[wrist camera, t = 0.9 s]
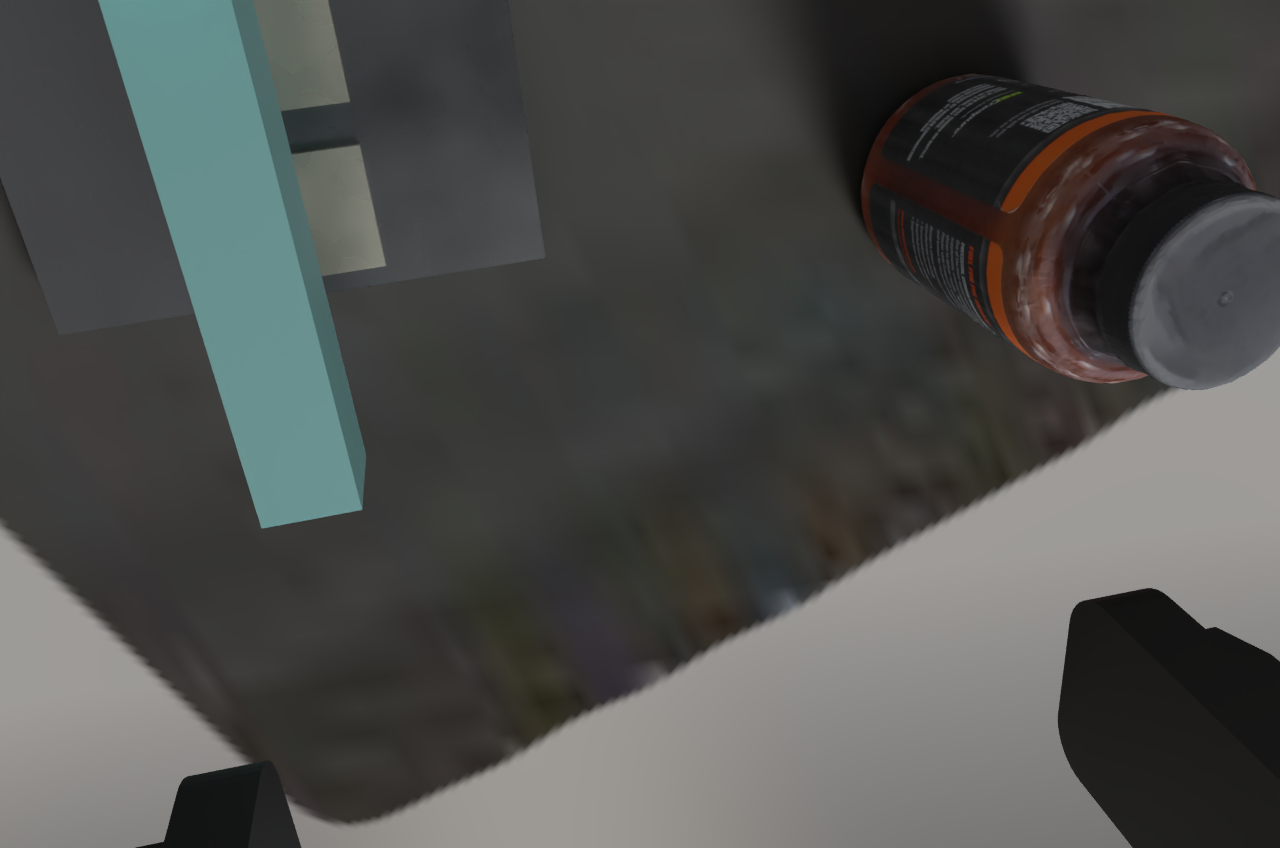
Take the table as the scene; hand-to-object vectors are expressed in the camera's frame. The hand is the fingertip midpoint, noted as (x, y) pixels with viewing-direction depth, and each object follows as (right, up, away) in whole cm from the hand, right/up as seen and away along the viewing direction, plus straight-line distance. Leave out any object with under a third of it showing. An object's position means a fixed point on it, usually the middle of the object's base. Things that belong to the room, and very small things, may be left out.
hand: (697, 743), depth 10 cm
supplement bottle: (+8, +10, +20) cm, 24 cm away
